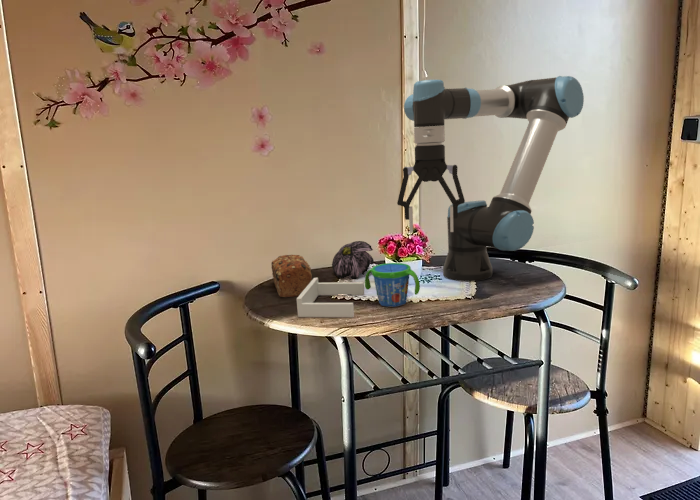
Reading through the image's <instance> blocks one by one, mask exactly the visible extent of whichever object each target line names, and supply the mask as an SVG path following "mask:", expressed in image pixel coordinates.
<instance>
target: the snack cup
mask: <svg viewBox="0 0 700 500" xmlns="http://www.w3.org/2000/svg"><path fill="white" fill-rule="evenodd" d="M365 273H366V274H365V277H364V288H365V289H366V290H371V287H372V285H371V282H370V275H371V274H372V277H373V281H374V285H375V290H376V296H377V300H378V302H379V304H380V305H381V307H387V308H389V307H390V308H391V307H392V308H395V307H401V306H403V305H406V303H407V300H408V292H409V284H410V283H409V282H410V276H411V277H412V278H413V280H414V284H415V285H414V295H418V294H419V292H420V288H421V285H420V280H419V277H418V275H417V273H416V272H415V271H414V270H413V269H412V268H411V266H410V265H409V264H407V263H401V262H388V263H381V264H377V265H374V266H372V268H369V269H368V270H367V272H365Z"/></svg>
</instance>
